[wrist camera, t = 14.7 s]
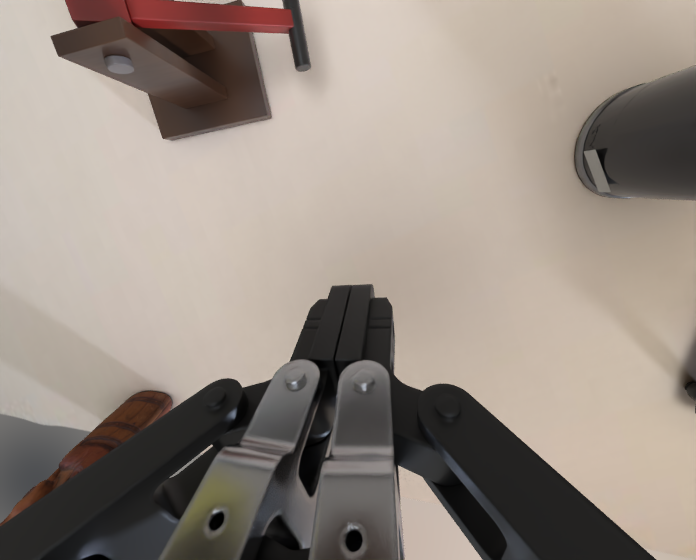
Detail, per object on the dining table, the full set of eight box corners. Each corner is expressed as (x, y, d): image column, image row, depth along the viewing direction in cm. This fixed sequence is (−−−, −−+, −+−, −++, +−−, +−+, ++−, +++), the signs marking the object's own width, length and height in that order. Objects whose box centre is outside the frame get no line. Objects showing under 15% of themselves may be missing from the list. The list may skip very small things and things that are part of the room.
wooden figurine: (138, 376, 40) (-37, 519, 23) (181, 398, 40) (41, 553, 23) (116, 433, 43) (-51, 593, 26) (155, 452, 44) (18, 621, 27)
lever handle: (289, -16, 22) (298, -40, 20) (306, 74, 24) (315, 61, 22) (57, -40, 17) (36, -77, 15) (100, 77, 19) (87, 60, 17)
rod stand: (247, 7, 26) (130, -158, 14) (271, 118, 29) (192, 65, 16) (138, 38, 28) (-60, -87, 15) (171, 140, 30) (26, 108, 18)
